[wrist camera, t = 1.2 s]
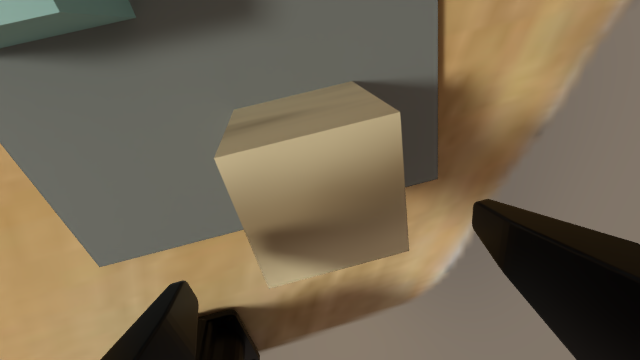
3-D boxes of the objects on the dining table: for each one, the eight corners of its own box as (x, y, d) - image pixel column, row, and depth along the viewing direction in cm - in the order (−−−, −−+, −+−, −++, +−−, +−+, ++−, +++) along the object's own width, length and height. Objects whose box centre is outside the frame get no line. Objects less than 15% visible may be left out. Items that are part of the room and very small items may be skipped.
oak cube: (366, 183, 17) (409, 250, 12) (268, 208, 17) (269, 288, 12) (352, 81, 14) (400, 111, 9) (233, 109, 14) (213, 158, 9)
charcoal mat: (432, 174, 19) (437, 178, 18) (104, 259, 18) (99, 267, 17) (426, -524, 8) (438, -564, 7) (-408, -400, 7) (-463, -435, 6)
